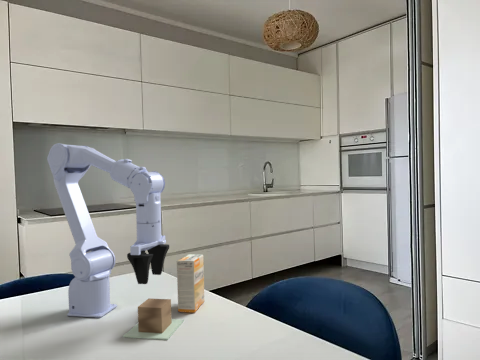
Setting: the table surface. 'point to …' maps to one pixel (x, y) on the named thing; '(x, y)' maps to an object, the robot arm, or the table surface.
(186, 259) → the supplement box
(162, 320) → the walnut block
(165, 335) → the sage pad
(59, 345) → the table surface
